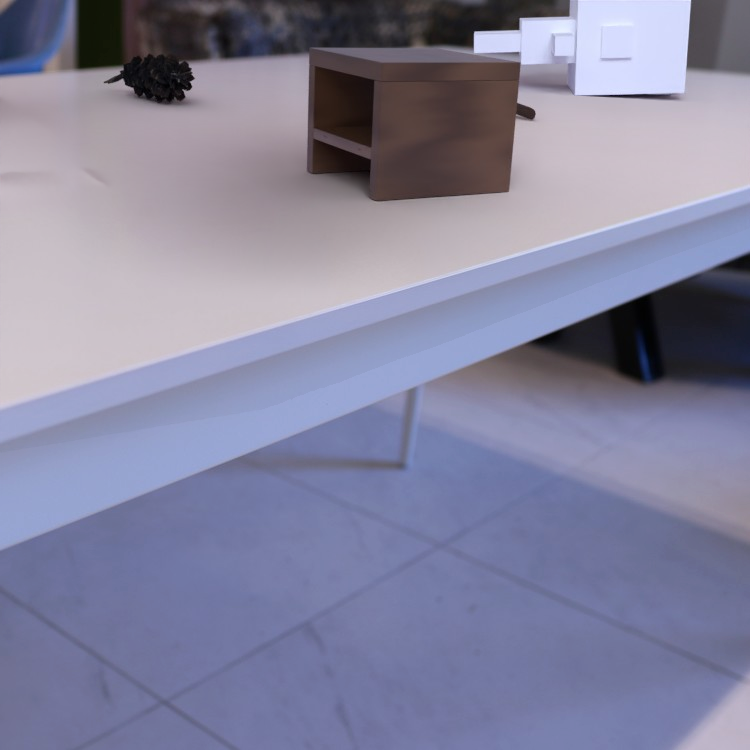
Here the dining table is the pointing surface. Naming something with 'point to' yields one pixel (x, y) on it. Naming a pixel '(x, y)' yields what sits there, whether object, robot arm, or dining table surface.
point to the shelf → (413, 119)
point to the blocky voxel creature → (606, 45)
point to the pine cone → (157, 77)
